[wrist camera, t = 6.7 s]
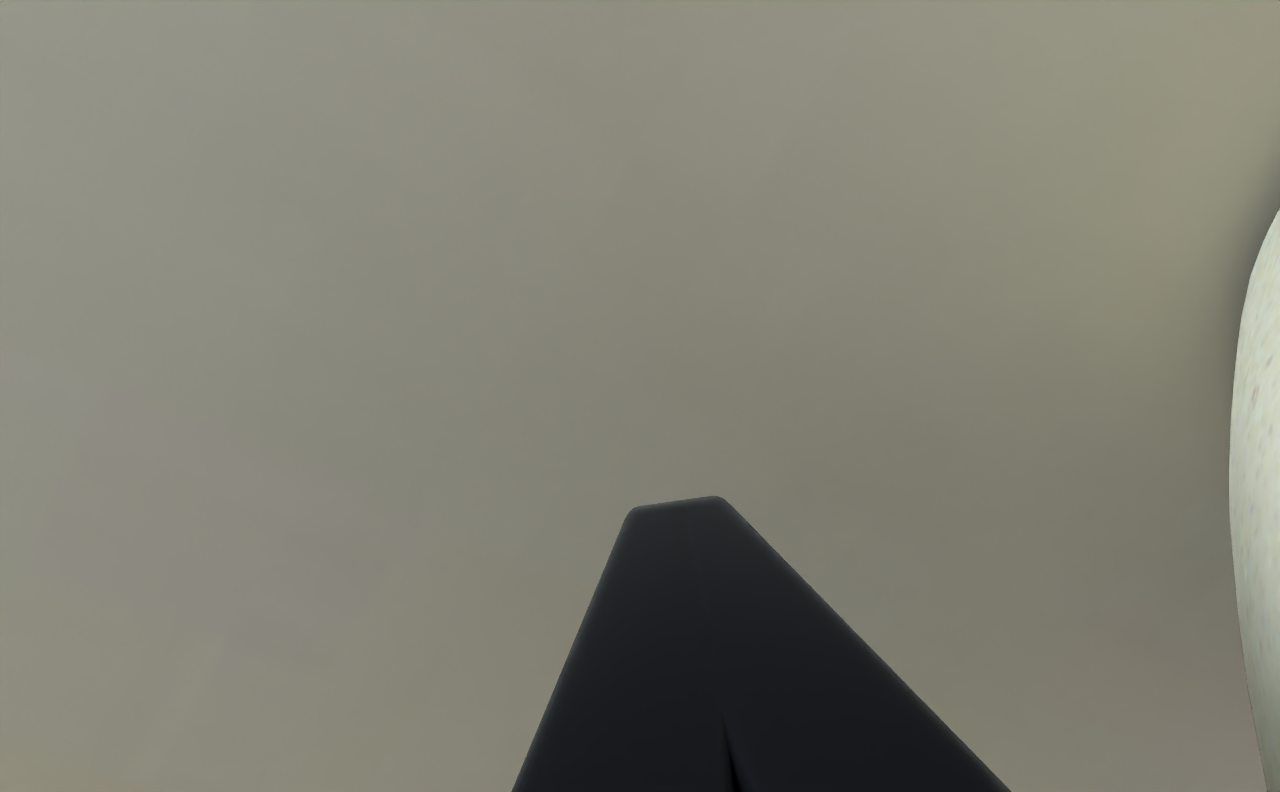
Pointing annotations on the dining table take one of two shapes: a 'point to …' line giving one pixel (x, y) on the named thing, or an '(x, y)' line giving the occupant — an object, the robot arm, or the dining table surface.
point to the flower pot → (1259, 497)
